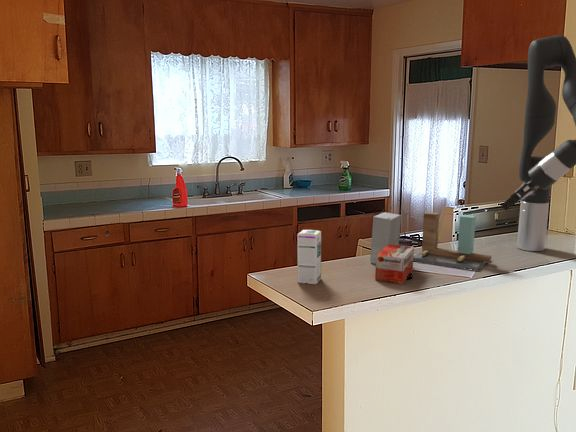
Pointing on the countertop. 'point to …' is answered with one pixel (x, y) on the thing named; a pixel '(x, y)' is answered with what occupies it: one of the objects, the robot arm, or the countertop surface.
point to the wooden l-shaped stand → (432, 240)
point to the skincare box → (384, 232)
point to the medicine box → (394, 263)
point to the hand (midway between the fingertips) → (506, 205)
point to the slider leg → (466, 235)
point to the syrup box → (309, 256)
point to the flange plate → (449, 261)
